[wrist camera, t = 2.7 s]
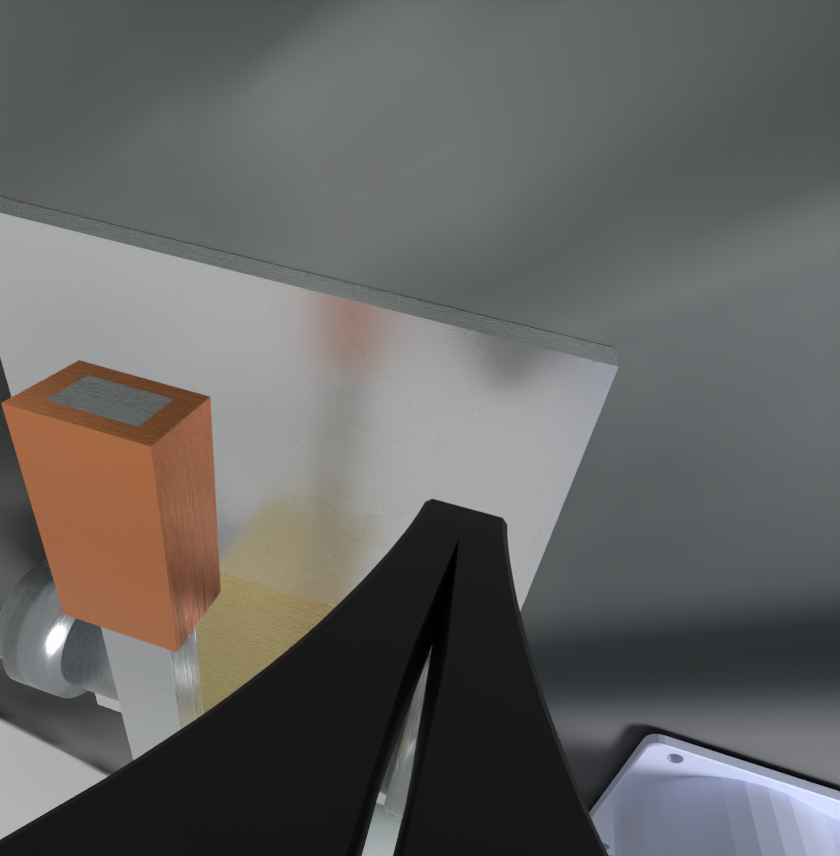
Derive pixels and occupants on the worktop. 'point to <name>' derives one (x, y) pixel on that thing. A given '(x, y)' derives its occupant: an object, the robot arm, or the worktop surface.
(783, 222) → the worktop surface
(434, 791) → the robot arm
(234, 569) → the valve rig
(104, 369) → the lever
